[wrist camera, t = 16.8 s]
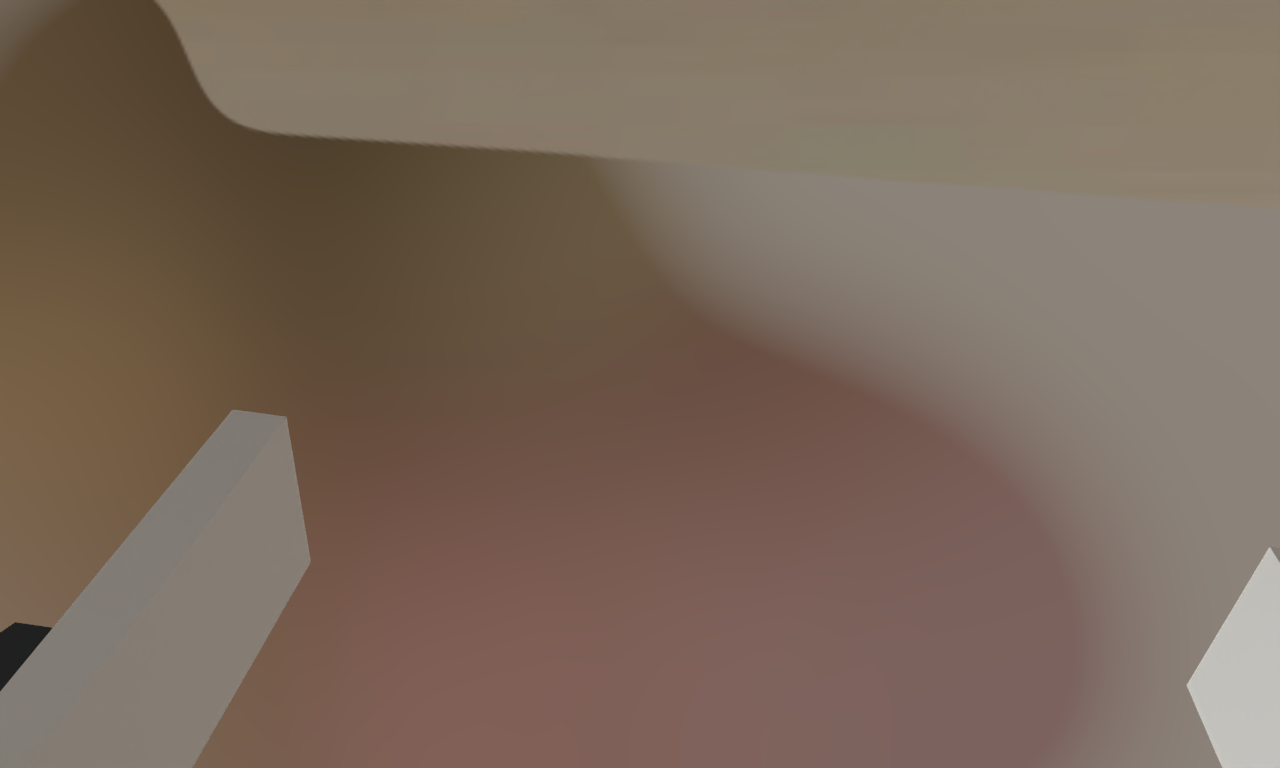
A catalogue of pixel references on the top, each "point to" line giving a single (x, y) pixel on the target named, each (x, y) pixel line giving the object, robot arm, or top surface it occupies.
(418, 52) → the top surface
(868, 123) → the top surface
